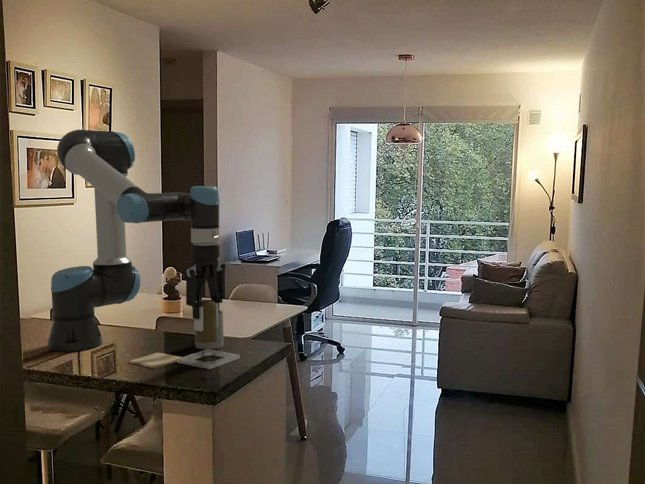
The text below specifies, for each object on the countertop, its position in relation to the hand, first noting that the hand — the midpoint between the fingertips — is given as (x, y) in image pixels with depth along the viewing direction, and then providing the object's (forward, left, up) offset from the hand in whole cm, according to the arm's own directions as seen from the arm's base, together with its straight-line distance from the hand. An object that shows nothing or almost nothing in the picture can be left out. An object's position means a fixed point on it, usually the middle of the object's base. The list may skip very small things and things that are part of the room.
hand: (206, 327), depth 171 cm
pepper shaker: (0, 0, -4) cm, 4 cm away
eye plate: (+1, 0, -9) cm, 9 cm away
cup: (-10, +12, -9) cm, 18 cm away
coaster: (-11, -8, -9) cm, 17 cm away
